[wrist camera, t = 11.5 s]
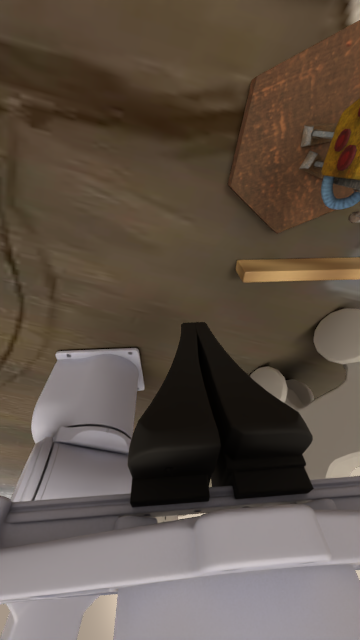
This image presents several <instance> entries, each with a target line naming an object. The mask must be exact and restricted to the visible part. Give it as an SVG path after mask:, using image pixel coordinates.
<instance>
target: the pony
mask: <svg viewBox="0 0 360 640" xmlns="http://www.w3.org/2000/svg"><path fill="white" fill-rule="evenodd" d="M314 344H315V347H316V349H317V352H318V353H319V354H321V355H322V356H323V357H324V358H326V359H327V360H328V361H331V362H336V363H340V364H342V365H343V367H344V369H345V370H346V378H345V381H344V382H343V383H342V384H341V385H339V386H338V387H337V388H335V389H333V390H331V391H329V392H327V393H325V394H323V395H322V396H320V397H318V398H316V399H315V400H314V397H313V394H312V391H311V390H310V389H309V388H308V386H307V385H306V384H305V383H303V382H300V381H297V380H295V379H292V380H285V377H284V376H283V375H282V374H281V373H280V372H279V370H277V369H274V368H272V367H269V366H266V367H261V368H258V369H257V370H255V371H254V372H253V373H251V375H250V377H251V378H252V379H253V380H254V381H255V382H257V383H258V384H259V385H260V386H262V387H263V388H264V389H265V390H266V391H268V392H269V393H271V394H272V395H273V396H275V397H276V398H278V399H279V400H281V401H282V402H284V403H285V404H287V405H288V406H290V407H292V408H293V409H295V410H296V411H298V412H299V413H300V415H301V417H302V418H303V420H304V421H305V423H306V424H307V426H308V428H309V430H310V432H311V434H312V436H313V440H312V443H311V444H310V446H309V447H308V448H307V449H306V451H305V452H304V453H303V454H302V455H303V457H304V459H305V462H306V466H304V467H305V470H306V472H307V474H308V477H309V479H310V480H314V479H327V478H340V477H350V474H351V472H352V471H353V470H354V469H355V468H357V467H359V466H360V309H349V308H345V309H341V310H338V311H335V312H332V313H330V314H329V315H328V316H326V317H325V318H324V319H323V320H321V321H320V323H319V325H318V326H317V328H316V329H315V333H314Z"/></svg>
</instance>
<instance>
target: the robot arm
mask: <svg viewBox="0 0 360 640" xmlns="http://www.w3.org/2000/svg"><path fill="white" fill-rule="evenodd" d="M55 356H56V358H57V362H56V364H55V366H54V368H53V370H52V372H51V374H50V376H49V378H48V380H47V382H46V384H45V387H44V389H43V391H42V393H41V395H40V397H39V399H38V401H37V403H36V406H35V409H34V413H33V418H32V427H31V429H32V436H33V439H34V441H35V443H36V444H35V446H34V448H33V450H32V452H31V454H30V456H29V458H28V460H27V463H26V465H25V467H24V469H23V471H22V474H21V476H20V478H19V480H18V483H17V485H16V487H15V490H14V492H13V494H12V497H11V499H9V498H7V497H3V496H0V604H6V605H7V606H8V608H9V610H10V613H9V616H8V618H7V621H6V624H5V627H4V629H3V632H2V635H1V637H0V640H77V636H78V633H79V629H80V625H81V621H82V617H83V614H84V612H85V611H86V610H87V609H88V607H89V606H90V605H91V604H92V603H93V602H94V601H95V600H96V599H97V598H98V597H99V596H100V595H110V594H118V598H117V608H116V618H115V628H114V639H113V640H360V580H359V578H358V576H357V573H356V571H355V570H360V476H354V477H340V478H327V479H314V480H310V479H309V477H308V474H307V472H306V470H305V467H304V466H306V462H305V459H304V457H303V455H302V454H303V453H304V452H305V451H306V449H307V448H308V447H309V446H310V444H311V443H312V440H313V436H312V434H311V432H310V430H309V428H308V426H307V424H306V423H305V421H304V420H303V418H302V417H301V415H300V413H299V412H298V411H296V410H295V409H293V408H292V407H290V406H288V405H287V404H285V403H284V402H282V401H281V400H279V399H278V398H276V397H275V396H273V395H272V394H271V393H269V392H268V391H266V390H265V389H264V388H263V387H262V386H260V385H259V384H258V383H257V382H255V381H254V380H253V379H252V378H251V377H250V376H249V375H247V374H246V373H245V372H244V371H243V370H242V369H241V368H240V367H239V366H238V365H237V364H236V363H235V362H234V360H233V359H232V358H231V357H230V356H229V355H228V354H227V352H226V351H225V350H224V349H223V347H222V346H221V345H220V344H219V342H218V341H217V339H216V338H215V337H214V335H213V334H212V332H211V331H210V329H209V327H208V326H207V324H206V323H205V322H196V323H183V324H181V337H180V342H179V345H178V349H177V352H176V355H175V358H174V361H173V363H172V366H171V368H170V370H169V372H168V374H167V376H166V378H165V380H164V382H163V384H162V386H161V388H160V390H159V391H158V393H157V394H156V396H155V398H154V399H153V401H152V402H151V404H150V405H149V407H148V408H147V410H146V411H145V412H144V414H143V415H142V416H141V418H140V419H139V421H138V423H137V426H136V428H135V431H134V433H133V427H134V417H135V408H136V398H137V391H141V390H144V388H145V386H144V379H143V373H142V367H141V360H140V354H139V350H138V349H137V348H122V349H98V350H74V351H58V352H57V353H56V355H55ZM210 479H211V480H212V487H209V483H210ZM199 513H206V514H203V515H201V516H198V517H192V518H186V519H180V520H174V521H167V522H161V523H157V519H156V518H152V517H163V516H175V515H187V514H199Z"/></svg>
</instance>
